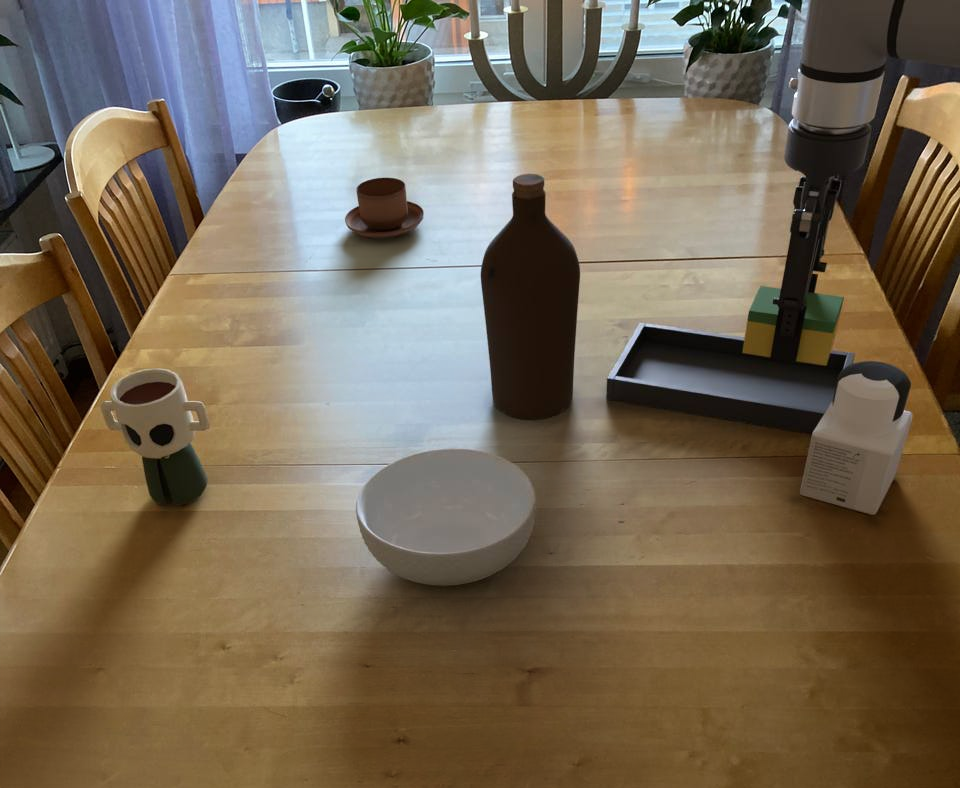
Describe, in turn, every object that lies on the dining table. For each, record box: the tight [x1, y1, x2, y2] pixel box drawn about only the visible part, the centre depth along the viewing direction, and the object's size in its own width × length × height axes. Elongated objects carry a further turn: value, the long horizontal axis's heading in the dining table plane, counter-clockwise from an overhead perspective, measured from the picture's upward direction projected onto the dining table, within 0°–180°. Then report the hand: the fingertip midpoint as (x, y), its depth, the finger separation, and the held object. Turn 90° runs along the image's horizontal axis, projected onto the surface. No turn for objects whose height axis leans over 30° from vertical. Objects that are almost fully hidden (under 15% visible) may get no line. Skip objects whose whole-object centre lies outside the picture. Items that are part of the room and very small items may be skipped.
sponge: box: [742, 285, 845, 366], centre depth 109 cm, size 9×6×5 cm, turn 68°
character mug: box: [99, 367, 211, 506], centre depth 104 cm, size 11×7×13 cm, turn 85°
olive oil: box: [480, 173, 581, 420], centre depth 109 cm, size 11×11×25 cm
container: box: [799, 360, 914, 516], centre depth 98 cm, size 8×8×13 cm
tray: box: [605, 321, 856, 435], centre depth 116 cm, size 26×14×3 cm, turn 68°
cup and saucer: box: [344, 177, 425, 239], centre depth 151 cm, size 12×12×6 cm
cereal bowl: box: [355, 448, 537, 587], centre depth 96 cm, size 17×17×7 cm
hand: (788, 343), depth 111 cm, fingers closed on sponge, 6 cm apart
